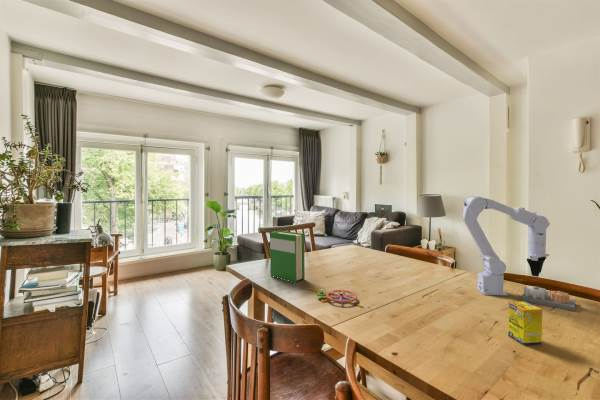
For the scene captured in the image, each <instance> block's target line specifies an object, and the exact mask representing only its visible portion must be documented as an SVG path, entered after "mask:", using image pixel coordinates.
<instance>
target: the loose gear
mask: <svg viewBox="0 0 600 400" xmlns="http://www.w3.org/2000/svg"><path fill="white" fill-rule="evenodd" d="M557 292H559V293H562V295H561V294H556V293H557ZM549 295H550V300H552V301H555V302H558V303H569V299H570V295H569V293H567V292H563V291H560V290H550V291H549Z"/></svg>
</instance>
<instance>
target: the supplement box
mask: <svg viewBox="0 0 600 400" xmlns="http://www.w3.org/2000/svg"><path fill="white" fill-rule="evenodd" d="M507 325H508V329H507V330H508V331H507V333H508V334H507V336H508V337H510V338H512V339H514V340H515V341H516V342H518V343H519V344H520V345H522V346H538V345H542V339H543V338H542V336H543V334H542V333H543V332H542V331H543V308H540V307H537V306H535V305H533V304H531V303H530V302H528V301H510V302H508V324H507Z"/></svg>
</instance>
